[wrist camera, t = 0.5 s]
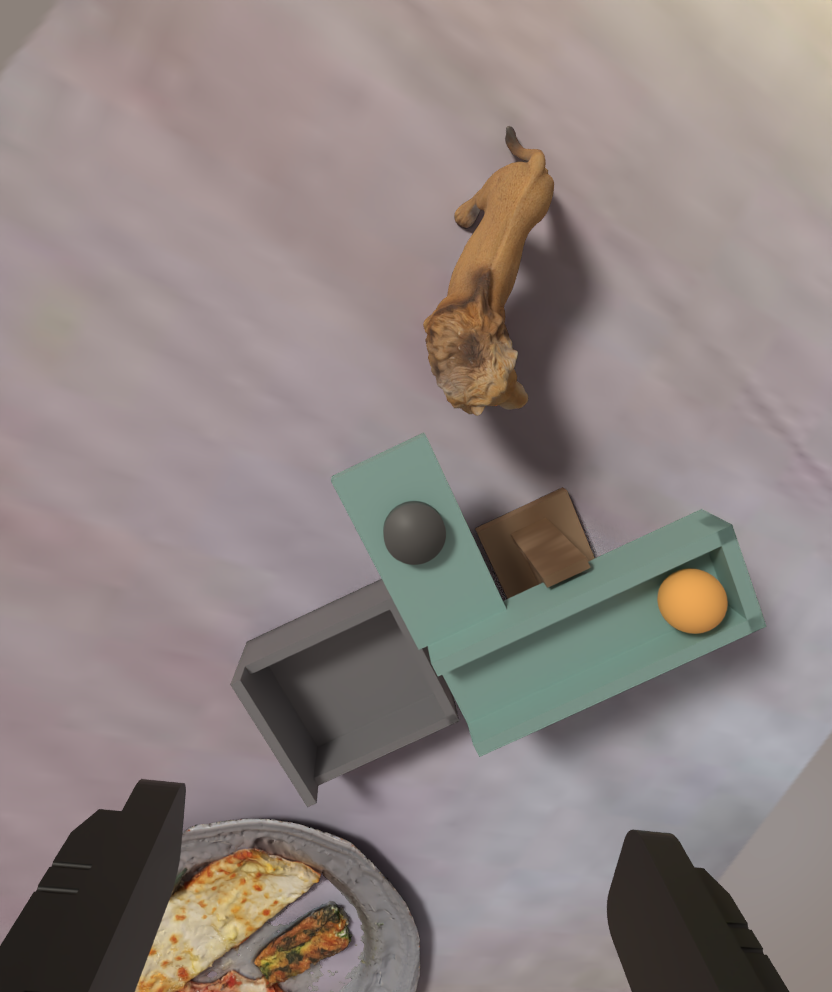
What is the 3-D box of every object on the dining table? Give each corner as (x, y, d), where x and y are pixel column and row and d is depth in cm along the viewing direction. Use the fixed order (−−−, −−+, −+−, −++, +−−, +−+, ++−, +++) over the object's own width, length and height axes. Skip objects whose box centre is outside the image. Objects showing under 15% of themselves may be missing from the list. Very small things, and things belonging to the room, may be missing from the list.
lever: (639, 330, 30) (666, 329, 27) (734, 603, 34) (766, 626, 32) (332, 476, 31) (329, 489, 28) (462, 727, 35) (470, 760, 32)
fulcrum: (562, 487, 39) (612, 525, 31) (617, 619, 41) (675, 684, 33) (474, 528, 39) (502, 576, 31) (534, 657, 41) (573, 731, 34)
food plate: (212, 1121, 49) (202, 1178, 46) (-3, 939, 44) (-32, 988, 40) (472, 950, 48) (481, 996, 45) (286, 741, 42) (280, 774, 39)
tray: (392, 573, 39) (396, 607, 34) (451, 689, 42) (463, 736, 37) (246, 642, 39) (230, 684, 35) (313, 752, 42) (307, 807, 37)
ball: (694, 549, 32) (730, 572, 29) (713, 600, 33) (749, 628, 30) (638, 575, 32) (667, 600, 29) (657, 626, 33) (688, 655, 30)
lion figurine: (495, 409, 37) (535, 431, 28) (407, 393, 36) (421, 411, 28) (551, 140, 34) (617, 73, 25) (456, 118, 33) (489, 41, 24)
